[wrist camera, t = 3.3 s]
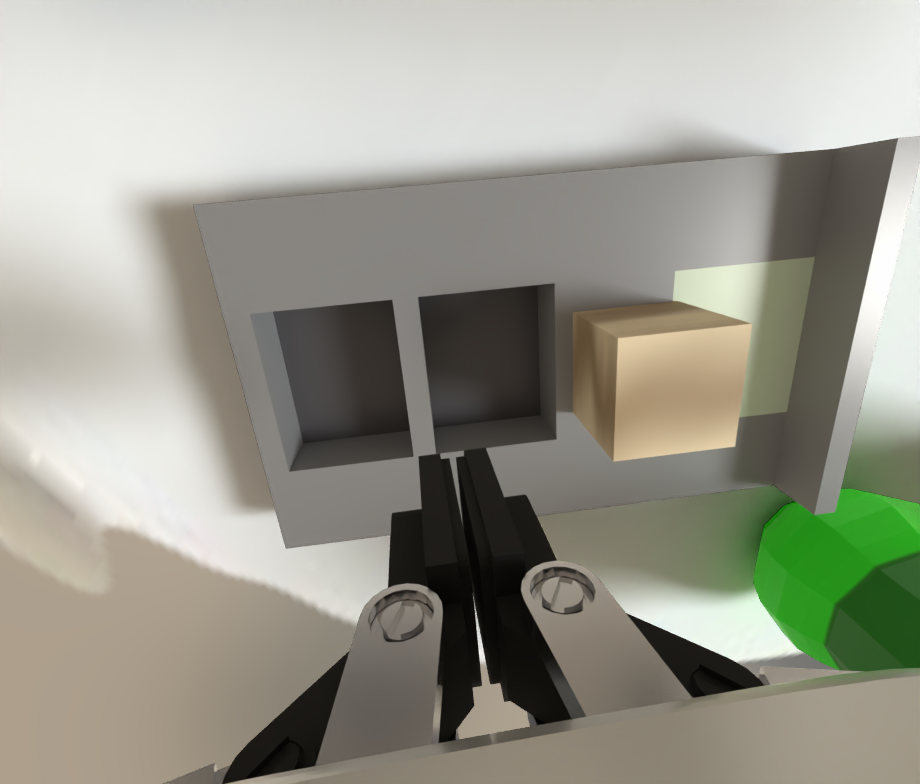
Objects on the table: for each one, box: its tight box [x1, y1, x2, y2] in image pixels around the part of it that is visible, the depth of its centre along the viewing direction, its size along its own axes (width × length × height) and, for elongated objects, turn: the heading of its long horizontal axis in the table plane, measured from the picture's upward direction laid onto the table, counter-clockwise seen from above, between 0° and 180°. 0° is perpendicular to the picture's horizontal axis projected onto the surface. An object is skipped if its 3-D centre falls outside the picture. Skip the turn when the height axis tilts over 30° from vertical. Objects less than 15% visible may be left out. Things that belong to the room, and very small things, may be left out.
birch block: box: [573, 301, 752, 462], centre depth 18 cm, size 4×4×4 cm
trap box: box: [193, 136, 920, 549], centre depth 20 cm, size 15×25×6 cm, turn 95°
